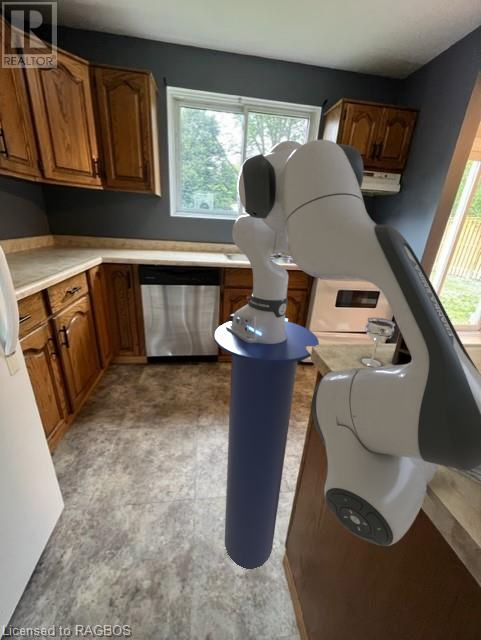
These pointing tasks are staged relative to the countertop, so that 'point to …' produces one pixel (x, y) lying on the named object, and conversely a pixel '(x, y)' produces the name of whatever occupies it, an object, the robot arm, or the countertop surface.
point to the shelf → (400, 349)
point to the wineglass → (378, 335)
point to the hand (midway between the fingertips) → (428, 402)
